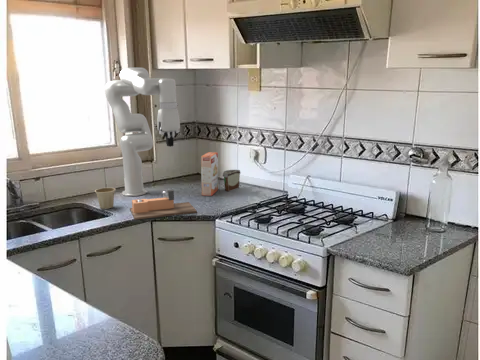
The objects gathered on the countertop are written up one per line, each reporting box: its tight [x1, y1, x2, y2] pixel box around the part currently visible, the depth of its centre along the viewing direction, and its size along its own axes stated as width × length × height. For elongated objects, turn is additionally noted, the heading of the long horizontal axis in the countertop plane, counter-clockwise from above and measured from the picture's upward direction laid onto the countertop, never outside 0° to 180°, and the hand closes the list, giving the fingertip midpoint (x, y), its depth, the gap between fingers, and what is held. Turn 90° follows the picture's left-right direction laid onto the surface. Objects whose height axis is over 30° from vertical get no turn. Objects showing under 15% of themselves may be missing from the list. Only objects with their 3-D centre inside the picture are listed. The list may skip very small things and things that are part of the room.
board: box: [129, 201, 198, 221], centre depth 217 cm, size 16×28×1 cm, turn 110°
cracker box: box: [200, 151, 219, 197], centre depth 248 cm, size 14×6×21 cm, turn 168°
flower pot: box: [94, 187, 116, 210], centre depth 224 cm, size 9×9×9 cm
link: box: [131, 197, 175, 213], centre depth 217 cm, size 18×6×4 cm, turn 110°
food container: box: [222, 169, 242, 192], centre depth 256 cm, size 12×6×10 cm, turn 144°
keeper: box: [162, 189, 175, 201], centre depth 218 cm, size 13×3×4 cm, turn 21°
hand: (170, 146), depth 219 cm, fingers closed
